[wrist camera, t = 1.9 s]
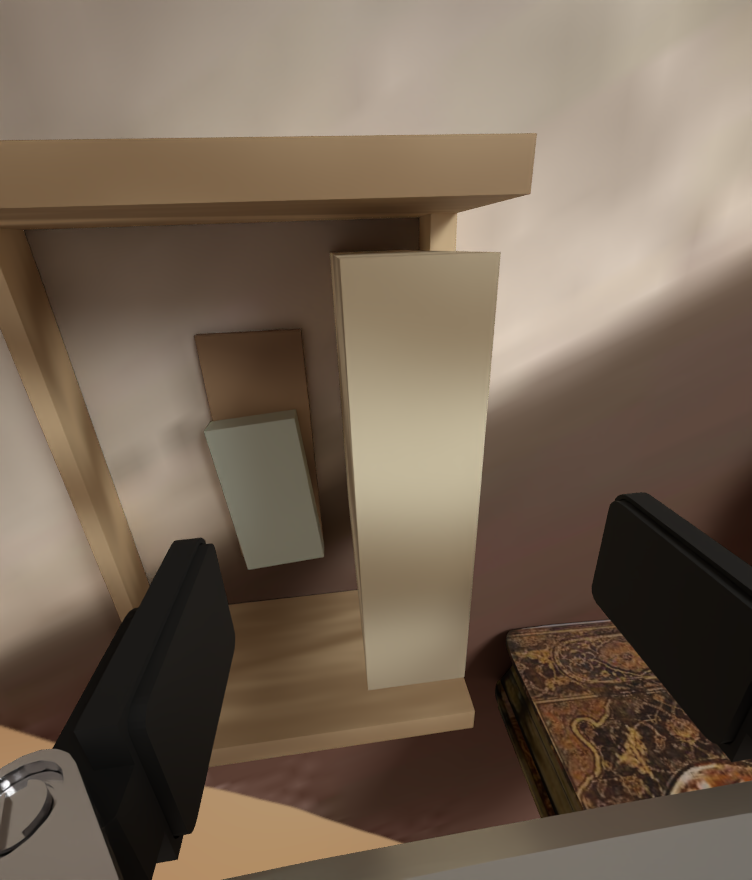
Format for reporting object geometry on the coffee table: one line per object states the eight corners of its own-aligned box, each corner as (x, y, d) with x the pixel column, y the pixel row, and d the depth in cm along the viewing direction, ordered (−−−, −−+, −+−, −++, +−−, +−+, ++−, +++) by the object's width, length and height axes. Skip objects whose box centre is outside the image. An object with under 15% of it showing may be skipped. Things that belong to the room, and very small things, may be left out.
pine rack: (-13, 193, 15) (-317, 145, 8) (444, 182, 17) (536, 133, 9) (150, 628, 25) (79, 786, 17) (431, 595, 26) (473, 727, 19)
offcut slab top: (210, 421, 19) (203, 431, 18) (295, 408, 20) (294, 418, 18) (251, 554, 23) (248, 569, 22) (323, 542, 23) (323, 557, 22)
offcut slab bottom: (201, 330, 19) (194, 335, 18) (301, 325, 19) (300, 330, 18) (245, 542, 24) (241, 556, 23) (323, 534, 24) (323, 548, 23)
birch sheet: (329, 252, 17) (339, 258, 7) (400, 249, 18) (500, 252, 8) (347, 495, 22) (368, 690, 13) (402, 489, 23) (464, 677, 13)
